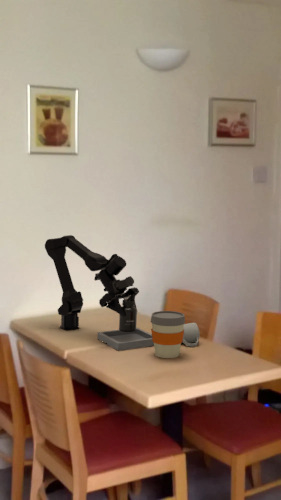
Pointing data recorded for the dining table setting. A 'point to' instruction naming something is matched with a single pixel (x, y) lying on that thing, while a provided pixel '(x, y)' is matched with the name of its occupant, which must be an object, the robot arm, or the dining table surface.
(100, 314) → the dining table surface
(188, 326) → the ceramic mug
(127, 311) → the supplement bottle
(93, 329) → the dining table surface
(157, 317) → the reusable coffee cup
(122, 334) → the tray
